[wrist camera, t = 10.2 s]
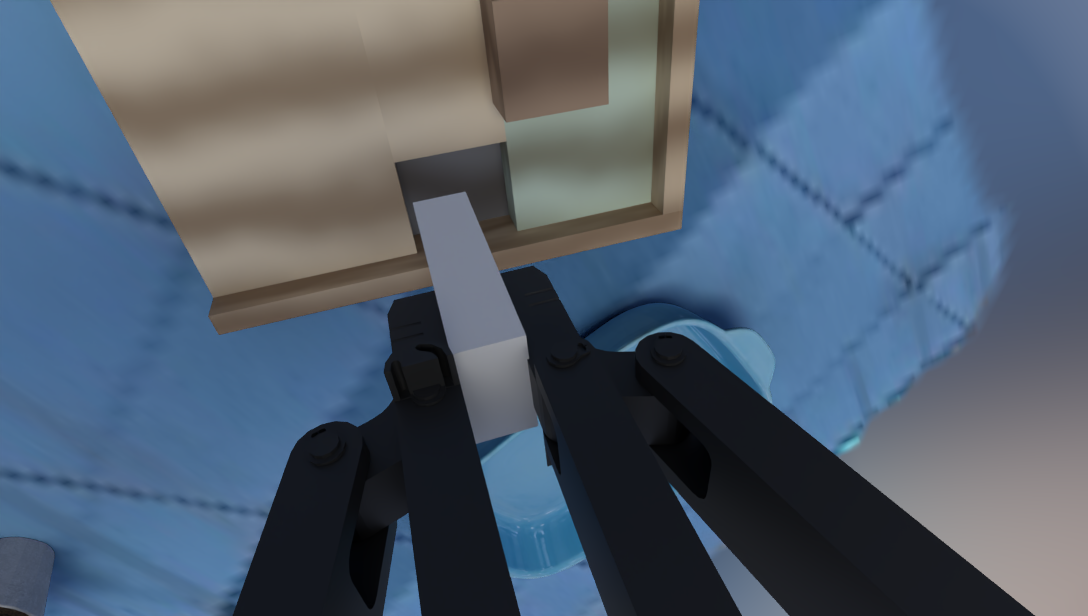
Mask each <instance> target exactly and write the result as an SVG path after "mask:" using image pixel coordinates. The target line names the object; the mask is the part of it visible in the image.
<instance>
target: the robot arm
mask: <svg viewBox="0 0 1088 616" xmlns="http://www.w3.org/2000/svg"><path fill="white" fill-rule="evenodd" d="M413 206H414V210H415V214H416V218H417V222H418V226H419V230H420V234H421V238H422V242H423V246H424V250H425V254H426V258H427V262H428V266H429V270H430V274H431V278H432V282H433V286H434V290H435V291H431V292H427V293H422V294H418V295H414V296H410V297H406V298H401V299H397V300H394V302H393V304H392V306H391V308H390V310H389V313H388V323H389V330H390V338H391V346H392V354H391V355H390V357H389V358H388V360H387V361H386V362H385V368H384V374H385V377H386V380H387V382H388V385H389V388H390V391H391V394H392V396H393V400H392V402H391V403H390V405H389V406H388V407H387V408H386V409H385V410H384V411H383V412H382V413H381V414H379V415H378V416H376V417H375V418H373V419H372V420H370V421H368V422H366V423H365V424H363V425H361V426H359V427H356V426H354V425H352V424H350V423H348V422H338V421H334V422H330V423H326V424H322V425H320V426H318V427H316V428H314V429H312V430H310V431H308V432H307V433H306V434H305V435H304V436H303V437H302V438H301V439H299V440H298V441H297V443H296V445H295V446H294V448H293V450H292V451H291V454H290V456H289V459H288V462H287V465H286V468H285V470H284V473H283V476H282V479H281V482H280V484H279V487H278V490H277V493H276V496H275V498H274V501H273V504H272V507H271V510H270V512H269V515H268V518H267V521H266V524H265V527H264V529H263V532H262V535H261V538H260V541H259V543H258V546H257V549H256V552H255V555H254V557H253V560H252V563H251V566H250V569H249V571H248V574H247V577H246V580H245V583H244V585H243V588H242V591H241V594H240V597H239V599H238V602H237V605H236V608H235V611H234V614H233V616H383V610H384V603H385V597H386V591H387V585H388V578H389V572H390V566H391V560H392V554H393V547H394V541H395V535H396V529H397V520H398V519H399V518H401V517H402V516H404V515H405V514H407V513H409V520H410V528H411V536H412V543H413V551H414V559H415V567H416V575H417V583H418V591H419V599H420V606H421V614H422V616H520V612H519V608H518V604H517V600H516V596H515V592H514V589H513V585H512V581H511V577H510V573H509V569H508V565H507V562H506V558H505V554H504V550H503V546H502V542H501V538H500V535H499V531H498V527H497V523H496V519H495V515H494V511H493V508H492V504H491V500H490V496H489V492H488V488H487V484H486V481H485V477H484V473H483V469H482V465H481V461H480V457H479V454H478V450H477V446H476V444H478V443H481V442H485V441H488V440H491V439H495V438H498V437H502V436H505V435H509V434H512V433H516V432H519V431H523V430H526V429H530V428H533V427H537V426H538V419H539V422H540V424H541V427H542V429H543V437H544V445H545V452H546V460H547V467H548V466H551V465H552V467H553V469H554V472H555V475H556V477H557V480H558V483H559V486H560V488H561V491H562V494H563V496H564V499H565V502H566V504H567V507H568V510H569V513H570V515H571V518H572V521H573V523H574V526H575V529H576V531H577V534H578V537H579V540H580V542H581V545H582V548H583V550H584V553H585V556H586V559H587V561H588V564H589V567H590V569H591V572H592V575H593V577H594V580H595V583H596V586H597V588H598V591H599V594H600V596H601V599H602V602H603V604H604V607H605V610H606V613H607V615H608V616H742V615H741V613H740V611H739V610H738V608H737V606H736V604H735V602H734V601H733V599H732V597H731V595H730V593H729V591H728V590H727V588H726V586H725V584H724V582H723V580H722V579H721V577H720V575H719V573H718V571H717V569H716V568H715V566H714V564H713V562H712V561H711V559H710V557H709V555H708V553H707V551H706V549H705V548H704V546H703V544H702V542H701V540H700V539H699V537H698V535H697V533H696V531H695V529H694V528H693V526H692V524H691V522H690V520H689V519H688V517H687V515H686V513H685V511H684V509H683V508H682V506H681V504H680V502H679V500H678V498H677V497H676V495H675V493H674V491H673V489H672V488H671V486H670V484H671V485H672V486H673V488H674V489H675V490H676V491H677V492H678V493H679V494H680V495H681V496H682V497H683V499H684V500H685V501H686V502H687V503H688V504H689V505H690V506H691V507H692V509H693V510H694V511H695V512H696V513H697V514H698V515H699V516H700V517H701V518H702V520H703V521H704V522H705V523H706V524H707V525H708V526H709V527H710V528H711V530H712V531H713V532H714V533H715V534H716V535H717V536H718V537H719V538H720V539H721V541H722V542H723V543H724V544H725V545H726V546H727V547H728V548H729V549H730V550H731V552H732V553H733V554H734V555H735V556H736V557H737V558H738V559H739V560H740V562H741V563H742V564H743V565H744V566H745V567H746V568H747V569H748V570H749V571H750V573H751V574H752V575H753V576H754V577H755V578H756V579H757V580H758V581H759V582H760V584H761V585H762V586H763V587H764V588H765V589H766V590H767V591H768V592H769V594H770V595H771V596H772V597H773V598H774V599H775V600H776V601H777V602H778V603H779V605H780V606H781V607H782V608H783V609H784V610H785V611H786V612H787V613H788V615H789V616H1035V615H1033V614H1032V613H1031V612H1030V611H1028V610H1027V609H1026V608H1025V607H1023V606H1022V605H1021V604H1020V603H1019V602H1017V601H1016V600H1015V599H1014V598H1012V597H1011V596H1010V595H1009V594H1007V593H1006V592H1005V591H1004V590H1002V589H1001V588H1000V587H999V586H997V585H996V584H995V583H994V582H992V581H991V580H990V579H988V578H987V577H986V576H985V575H984V574H982V573H981V572H980V571H979V570H978V569H976V568H975V567H974V566H973V565H971V564H970V563H969V562H968V561H966V560H965V559H964V558H962V557H961V556H960V555H959V554H957V553H956V552H955V551H954V550H953V549H951V548H950V547H949V546H948V545H946V544H945V543H944V542H942V541H941V540H940V539H939V538H938V537H936V536H935V535H934V534H933V533H931V532H930V531H929V530H928V529H926V528H925V527H924V526H922V525H921V524H920V523H919V522H918V521H917V520H915V519H914V518H913V517H912V516H910V515H909V514H908V513H907V512H905V511H904V510H903V509H902V508H900V507H899V506H898V505H897V504H895V503H894V502H893V501H892V500H890V499H889V498H888V497H887V496H886V495H884V494H883V493H881V491H879V490H878V489H877V488H876V487H874V486H873V485H871V483H869V482H868V481H867V480H866V479H864V478H863V477H862V476H861V475H859V474H858V473H857V472H856V471H854V470H853V469H852V468H851V467H849V466H848V465H847V464H846V463H844V462H843V461H842V460H841V459H839V458H838V457H837V456H836V455H835V454H833V453H832V452H831V451H830V450H828V449H827V448H826V447H825V446H823V445H822V444H821V443H820V442H818V441H817V440H816V439H815V438H813V437H812V436H811V435H810V434H808V433H807V432H806V431H805V430H803V429H802V428H801V427H800V426H798V425H797V424H796V423H795V422H794V421H792V420H791V419H790V418H789V417H787V416H786V415H785V414H784V413H782V412H781V411H780V410H779V409H777V408H776V407H775V406H774V405H772V404H771V403H770V402H769V401H767V400H766V399H765V398H764V397H762V396H761V395H760V394H759V393H757V392H756V391H755V390H754V389H752V388H751V387H750V386H749V385H748V384H746V383H745V382H744V381H743V380H741V379H740V378H739V377H738V376H736V375H735V374H734V373H733V372H731V371H730V370H729V369H728V368H726V367H725V366H724V365H723V364H721V363H720V362H719V361H718V360H716V359H715V358H714V357H713V356H711V355H710V354H709V353H708V352H706V351H705V350H704V349H703V348H702V347H700V346H699V345H698V344H697V343H695V342H694V341H693V340H691V339H689V338H687V337H686V336H684V335H681V334H677V333H673V332H658V333H654V334H651V335H648V336H646V337H645V338H643V339H642V340H641V341H639V343H638V345H637V347H636V349H635V351H626V352H613V351H604V350H600V349H596V348H594V346H593V345H592V344H591V343H590V342H589V341H588V340H586V339H583V338H581V337H580V336H579V334H578V333H577V331H576V329H575V327H574V325H573V323H572V321H571V320H570V318H569V316H568V314H567V312H566V310H565V308H564V306H563V305H562V303H561V301H560V300H559V297H558V295H557V293H556V292H555V290H554V289H553V286H552V284H551V282H550V280H549V278H548V277H547V275H546V274H544V273H543V272H541V271H540V270H538V269H537V268H535V267H534V266H530V267H526V268H522V269H518V270H513V271H509V272H505V273H501V274H500V272H499V270H498V268H497V265H496V263H495V261H494V258H493V256H492V253H491V251H490V249H489V246H488V244H487V242H486V239H485V237H484V234H483V232H482V230H481V227H480V225H479V223H478V220H477V218H476V216H475V213H474V211H473V208H472V206H471V204H470V201H469V199H468V197H467V194H466V192H461V193H456V194H451V195H447V196H442V197H437V198H432V199H428V200H423V201H418V202H413ZM537 416H538V419H537ZM669 483H670V484H669Z"/></svg>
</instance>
